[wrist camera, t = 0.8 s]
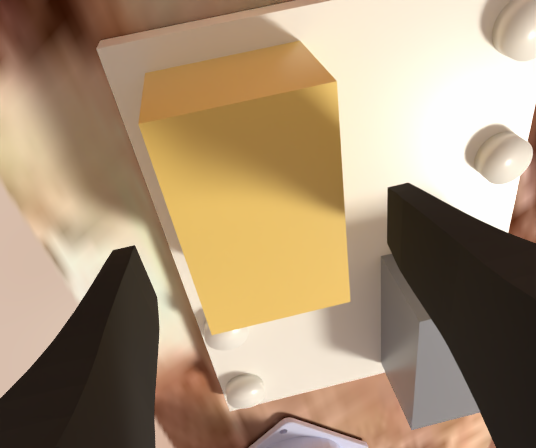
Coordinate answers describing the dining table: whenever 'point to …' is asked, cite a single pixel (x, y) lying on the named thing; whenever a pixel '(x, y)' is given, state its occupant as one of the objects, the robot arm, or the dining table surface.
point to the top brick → (252, 181)
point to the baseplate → (360, 150)
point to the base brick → (418, 356)
